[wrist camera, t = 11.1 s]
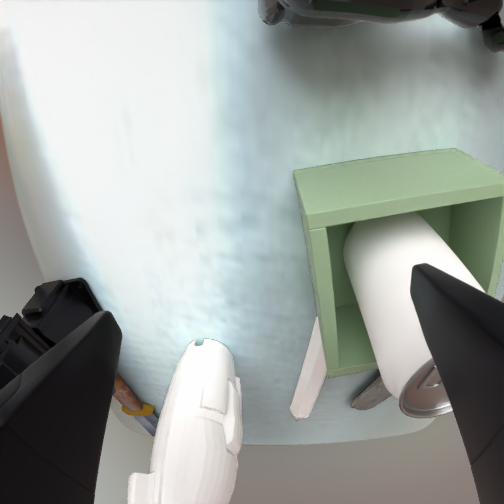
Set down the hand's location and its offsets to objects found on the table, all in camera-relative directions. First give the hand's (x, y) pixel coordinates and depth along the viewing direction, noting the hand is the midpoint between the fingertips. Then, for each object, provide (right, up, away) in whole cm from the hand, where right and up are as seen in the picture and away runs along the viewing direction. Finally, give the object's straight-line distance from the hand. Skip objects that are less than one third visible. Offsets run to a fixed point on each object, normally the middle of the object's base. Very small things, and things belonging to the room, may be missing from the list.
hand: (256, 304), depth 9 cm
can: (+9, +2, +13) cm, 16 cm away
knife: (-10, -19, +25) cm, 33 cm away
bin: (+9, +3, +13) cm, 16 cm away
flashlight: (-4, -8, +20) cm, 22 cm away
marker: (+5, -10, +20) cm, 23 cm away
